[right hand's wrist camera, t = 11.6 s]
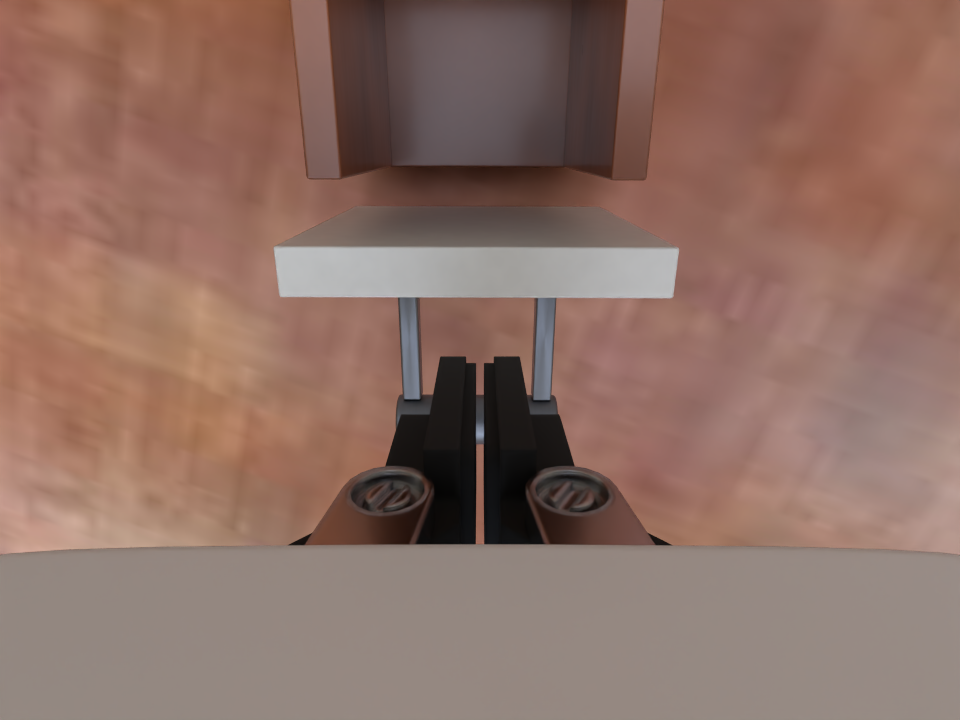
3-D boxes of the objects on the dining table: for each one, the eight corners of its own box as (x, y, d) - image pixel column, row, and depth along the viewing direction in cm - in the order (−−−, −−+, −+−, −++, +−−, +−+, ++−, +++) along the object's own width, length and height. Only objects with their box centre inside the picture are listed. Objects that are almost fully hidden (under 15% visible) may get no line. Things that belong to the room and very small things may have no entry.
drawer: (587, 382, 24) (646, 513, 15) (368, 381, 24) (306, 512, 15) (646, -404, 16) (848, -1065, 7) (310, -406, 16) (107, -1067, 7)
